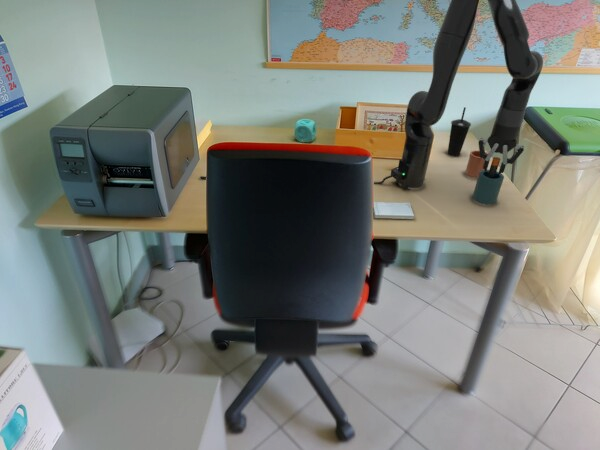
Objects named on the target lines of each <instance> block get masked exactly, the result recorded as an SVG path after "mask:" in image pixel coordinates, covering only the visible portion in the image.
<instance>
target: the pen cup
mask: <svg viewBox="0 0 600 450" xmlns="http://www.w3.org/2000/svg"><path fill="white" fill-rule="evenodd" d="M488 153H489V152H488ZM488 153H487V152H486V151H485V154H488ZM484 162H485V159H483V158H481V157H480V151H479V150H472V151H470V154H469V157H468V160H467V164H466V168H465V171H464V173H465V175H466V176H467V177H470V178H474V179H478V176H479V172H480V171H482V170H485V169H483V166H484Z"/></svg>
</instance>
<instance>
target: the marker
mask: <svg viewBox="0 0 600 450" xmlns="http://www.w3.org/2000/svg"><path fill="white" fill-rule="evenodd" d="M500 162H501V158H500V157H497V156H493V158H492V160H491V163H490V167H489V169H488V170H489V173H488V176H487V177H488V178H493V179H494V178H495V175H496V171H497V172H498V168H499V165H500Z"/></svg>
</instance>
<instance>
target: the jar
mask: <svg viewBox="0 0 600 450" xmlns="http://www.w3.org/2000/svg"><path fill="white" fill-rule="evenodd" d="M489 170H490V169H487V171H484V170H482V171H480V172H479V176H478V178H476V179H477V180H476V183H475V186H474V190H473V193H472V199H473V200H474V201H475V202H477V203H478V204H482V205H494V204H495V203H496V202H497V200H498V197H499V193H500V191H501V188H502V185H503V182H504V179H505V176H504V174H503V173H501V174H498V173H499V171H498V170H497V171H496V175H495V178H494V179H493V178H488V177H487V176H488V173H489Z"/></svg>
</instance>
